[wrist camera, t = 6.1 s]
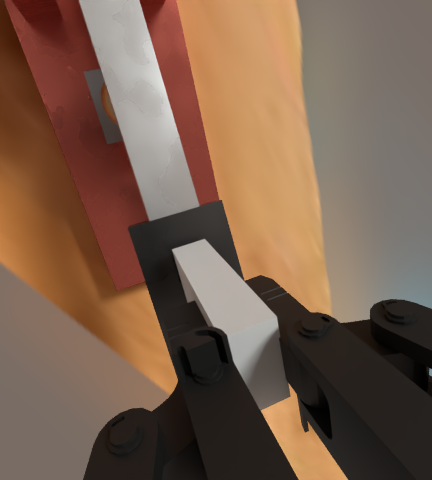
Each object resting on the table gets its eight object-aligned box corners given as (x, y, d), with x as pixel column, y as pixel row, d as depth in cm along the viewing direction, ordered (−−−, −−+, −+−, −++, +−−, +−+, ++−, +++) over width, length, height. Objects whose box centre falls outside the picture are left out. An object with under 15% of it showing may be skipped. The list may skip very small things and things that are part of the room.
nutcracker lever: (17, -111, 13) (-8, -178, 11) (118, -117, 14) (115, -180, 12) (175, 365, 17) (181, 390, 15) (248, 336, 18) (264, 354, 16)
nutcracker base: (-29, -98, 18) (-175, -342, 9) (144, -109, 20) (172, -315, 11) (116, 280, 27) (119, 353, 18) (223, 245, 29) (273, 294, 20)
